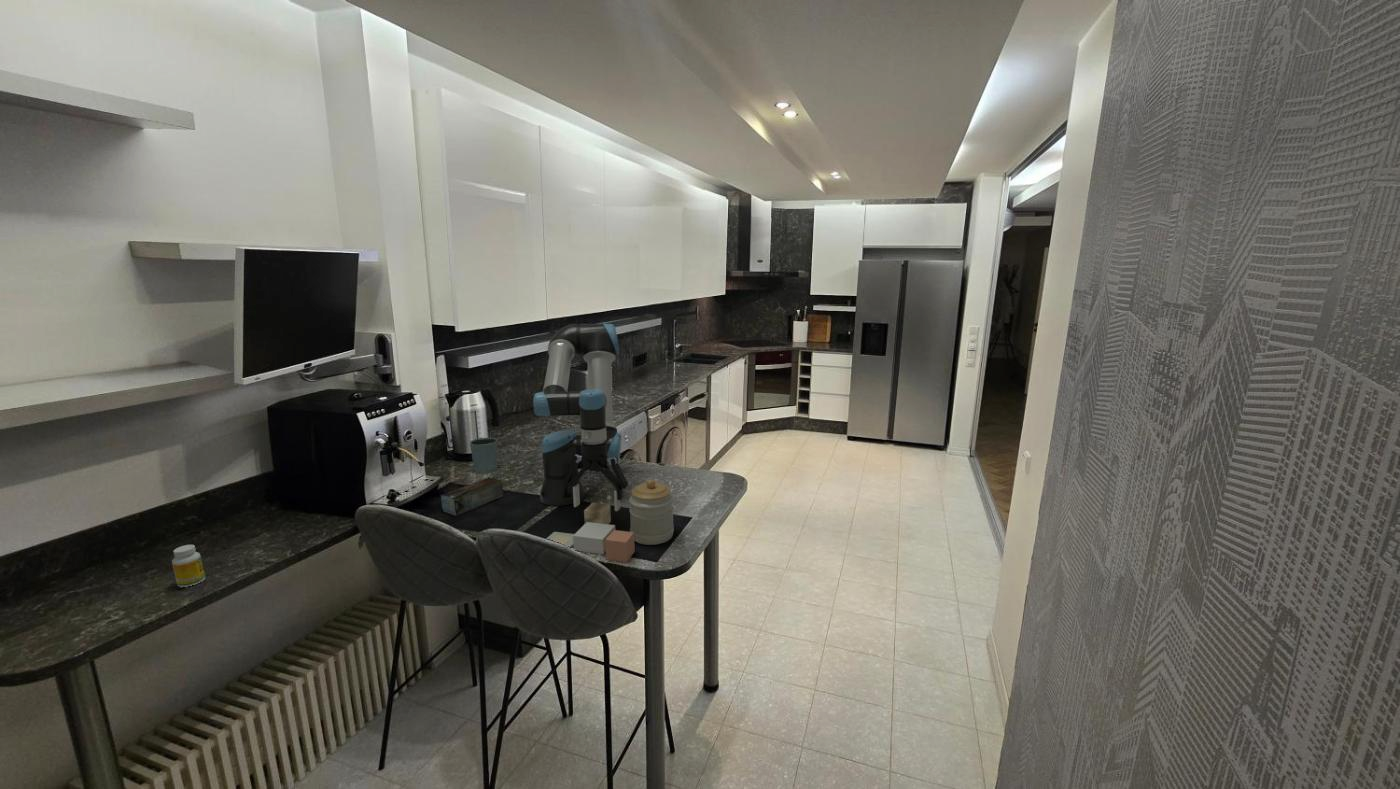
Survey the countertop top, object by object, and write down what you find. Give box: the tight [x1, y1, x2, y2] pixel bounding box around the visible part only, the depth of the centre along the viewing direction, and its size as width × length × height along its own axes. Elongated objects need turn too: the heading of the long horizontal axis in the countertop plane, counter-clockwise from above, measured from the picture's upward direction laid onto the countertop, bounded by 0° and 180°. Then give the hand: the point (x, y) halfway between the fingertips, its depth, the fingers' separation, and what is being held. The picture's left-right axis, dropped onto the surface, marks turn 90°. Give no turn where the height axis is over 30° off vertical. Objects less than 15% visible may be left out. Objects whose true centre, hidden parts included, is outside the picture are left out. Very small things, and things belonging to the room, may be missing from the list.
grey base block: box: [573, 522, 616, 555], centre depth 159 cm, size 9×9×4 cm
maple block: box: [583, 502, 612, 525], centre depth 172 cm, size 6×6×6 cm
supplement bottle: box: [171, 544, 206, 588], centre depth 140 cm, size 5×5×10 cm
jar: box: [628, 479, 675, 546], centre depth 164 cm, size 13×13×18 cm
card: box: [546, 531, 575, 548], centre depth 161 cm, size 9×9×1 cm
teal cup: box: [469, 437, 498, 475], centre depth 219 cm, size 10×10×12 cm
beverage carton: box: [440, 476, 504, 517], centre depth 188 cm, size 8×19×7 cm, turn 147°
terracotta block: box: [605, 529, 636, 563], centre depth 153 cm, size 6×6×6 cm
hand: (597, 507), depth 171 cm, fingers open, 13 cm apart
